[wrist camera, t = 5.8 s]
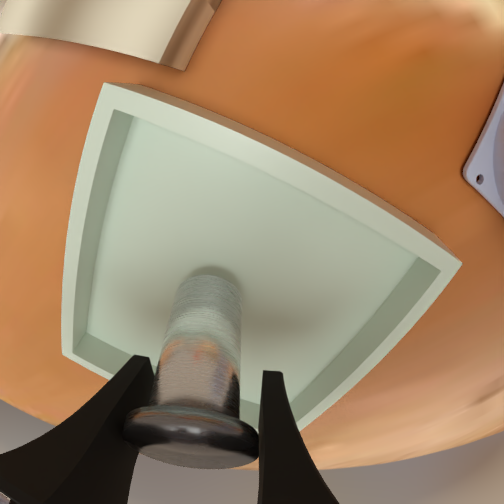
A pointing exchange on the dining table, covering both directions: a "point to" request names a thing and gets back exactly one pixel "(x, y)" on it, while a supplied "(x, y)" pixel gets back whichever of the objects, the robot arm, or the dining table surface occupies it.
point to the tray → (237, 250)
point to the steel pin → (197, 384)
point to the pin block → (116, 25)
